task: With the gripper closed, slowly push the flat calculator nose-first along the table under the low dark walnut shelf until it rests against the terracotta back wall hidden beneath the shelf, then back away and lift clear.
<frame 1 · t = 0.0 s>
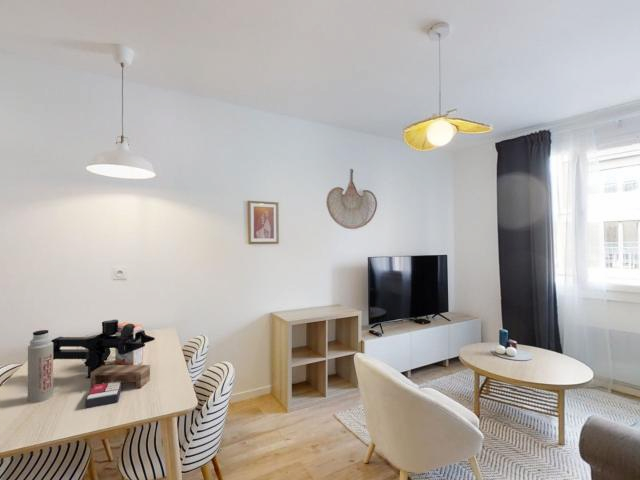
hand: (149, 341, 153), 17 cm above the table, tool horizontal, fingers open, 9 cm apart
thermos bottle: (40, 398, 131), on the table
overhang shelf: (121, 384, 144), on the table
cracker box: (128, 363, 168), on the table
calculator: (105, 398, 133), on the table
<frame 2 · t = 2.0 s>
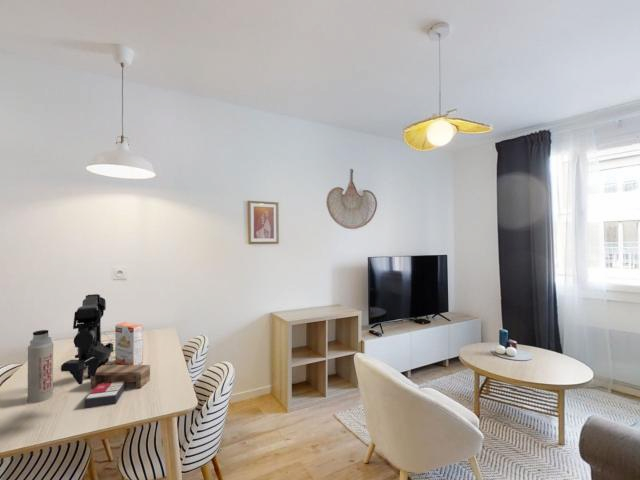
hand: (86, 380, 122), 12 cm above the table, tool pointing down, fingers open, 7 cm apart
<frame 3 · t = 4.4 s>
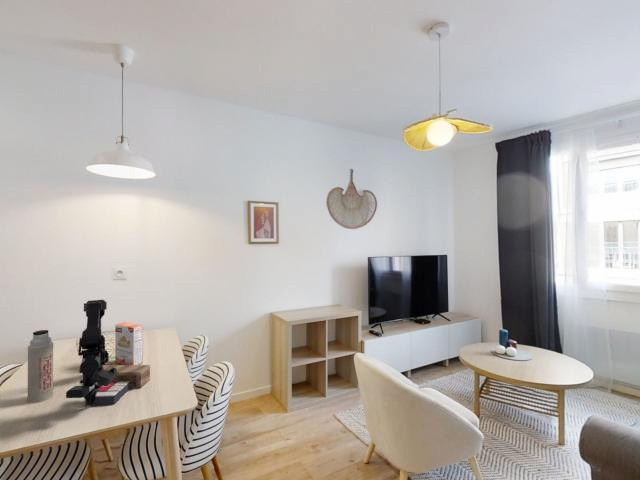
hand: (90, 404, 124), 1 cm above the table, tool pointing down, fingers closed
calculator: (109, 397, 134), on the table, touching gripper
everything else where it was.
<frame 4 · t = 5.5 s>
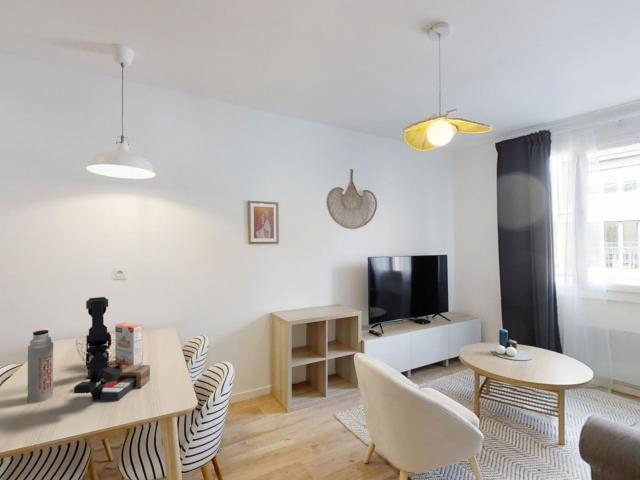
hand: (97, 400, 128), 1 cm above the table, tool pointing down, fingers closed
calculator: (116, 393, 137), on the table
everything else where it was.
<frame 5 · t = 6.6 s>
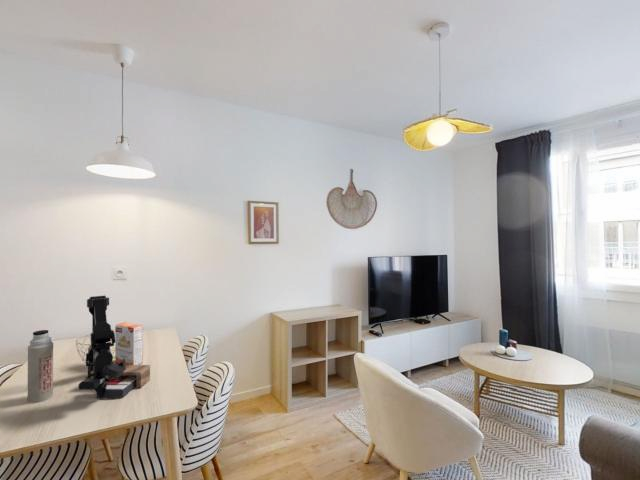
hand: (101, 397, 130), 1 cm above the table, tool pointing down, fingers closed
calculator: (120, 390, 139), on the table
everything else where it was.
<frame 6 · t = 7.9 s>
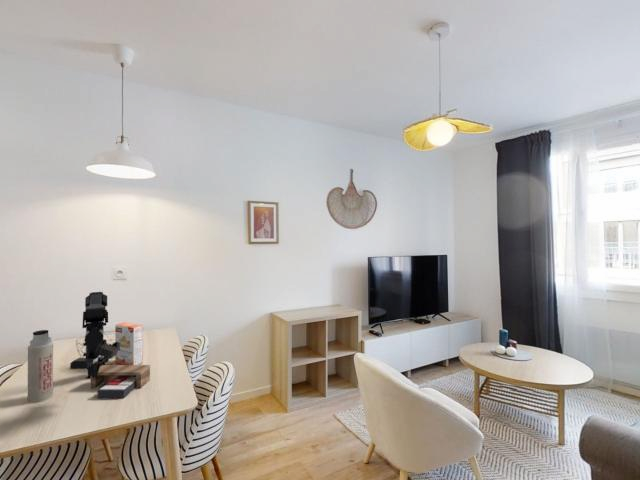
hand: (94, 377, 126), 11 cm above the table, tool pointing down, fingers closed
nothing on the table moved.
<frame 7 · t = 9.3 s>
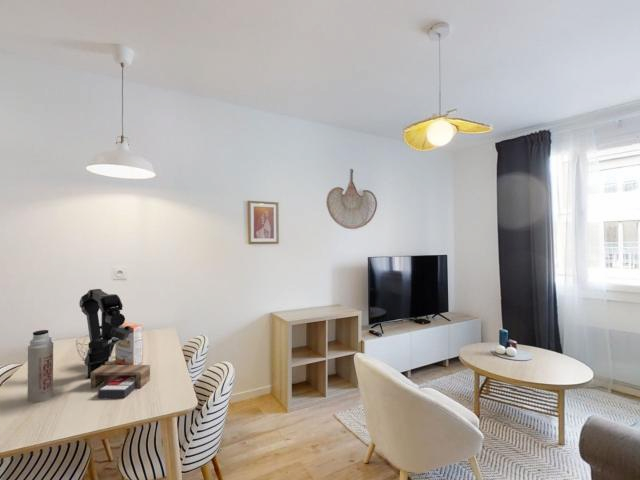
hand: (108, 356, 143), 13 cm above the table, tool pointing down, fingers closed
nothing on the table moved.
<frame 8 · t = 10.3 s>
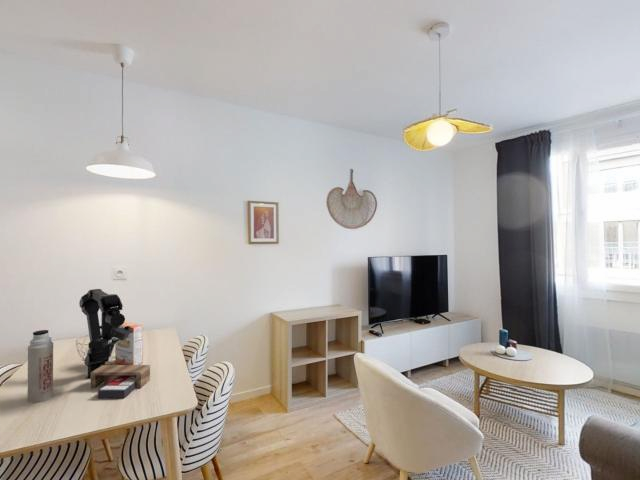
hand: (108, 356, 143), 13 cm above the table, tool pointing down, fingers closed
nothing on the table moved.
at the end: calculator inside the target area (2.9 cm from its centre), on the table; calculator touching table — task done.
